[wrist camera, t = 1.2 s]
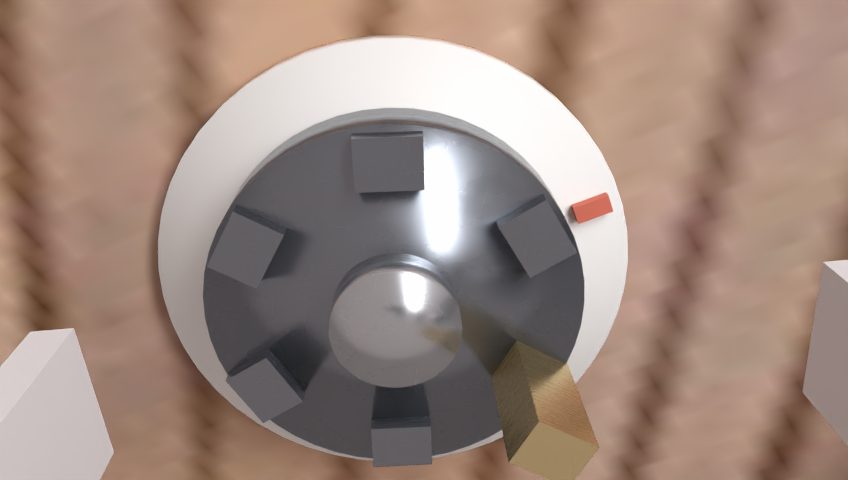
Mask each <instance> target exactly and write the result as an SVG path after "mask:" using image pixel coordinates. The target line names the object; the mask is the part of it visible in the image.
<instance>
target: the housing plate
mask: <svg viewBox="0 0 848 480" xmlns="http://www.w3.org/2000/svg"><path fill="white" fill-rule="evenodd" d="M378 108H414V109H420V110H427V111H433V112H439V113H442V114H445V115H449V116H452V117H455V118H459V119H462V120H464V121H467V122H469V123H471V124H473V125H476V126H478V127H480V128H482V129H485V130H486V131H488V132H489V133H491V134H493V135H494V136H496V137H498V138H499V139H501V140H502V141H504V142H506V143H507V144H508V145H509V146H510V147H512V148H513V149H514V150H515V151H516V152H518V153H519V154H520V155H521V156H522V157H524V158H525V160H526V161H527V162H528V163H529V164H530V165H531V166H532V167H533V168H534V169H535V171H536V172H537V173H538V174H539V175H540V177H541V178H542V180H543V181H544V183H545V184H546V185H547V187H548V188H549V190H550V191H551V193H552V195H553V197H554V198H555V200H556V202H557V204H558V206H559V208H560V209H561V211H562V213H563V215H564V217H565V219H566V221H567V223H568V225H569V227H570V229H571V231H572V233H573V235H574V238H575V241H576V244H577V247H578V250H579V254H580V257H581V261H582V268H583V275H584V309H583V316H582V323H581V327H580V330H579V333H578V337H577V340H576V343H575V346H574V348H573V350H572V353H571V355H570V357H569V359H568V361H567V363H566V364H568V366H569V369H570V371H571V374H572V377H573V379H574V382H575V383H576V382H577V381H578V380H579V379H580V377H581V376H582V375H583V373H584V372H585V371H586V370H587V368H588V367H589V366H590V364H591V363H592V362H593V361H594V359H595V357H596V356H597V354H598V352H599V350H600V349H601V347H602V345H603V344H604V342H605V340H606V339H607V337H608V334H609V332H610V330H611V327H612V325H613V322H614V320H615V318H616V315H617V313H618V309H619V306H620V302H621V298H622V294H623V291H624V287H625V279H626V271H627V263H628V246H627V228H626V223H625V217H624V211H623V205H622V202H621V199H620V196H619V193H618V190H617V187H616V184H615V181H614V177H613V175H612V173H611V172H610V170H609V168H608V166H607V164H606V162H605V160H604V158H603V156H602V154H601V152H600V150H599V149H598V147H597V146H596V144H595V143H594V141H593V140H592V139H591V137H590V136H589V134H588V133H587V131H586V130H585V129H584V127H583V126H582V125H581V123H580V122H579V121H578V120H577V119H576V118H575V117H574V116H573V114H572V113H571V112H570V111H569V110H568V109H567V108H566V107H565V106H564V105H563V104H562V103H561V102H560V101H559V100H558V99H557V97H556V96H555V95H553V94H552V93H551V92H550V91H548V90H547V89H546V88H544V87H543V86H542V85H541V84H539V83H538V82H537V81H536V80H534V79H533V78H532V77H531V76H529V75H527V74H526V73H524V72H522V71H521V70H519V69H517V68H515V67H514V66H512V65H510V64H509V63H507V62H505V61H504V60H501V59H499V58H497V57H494V56H492V55H489V54H487V53H485V52H482V51H480V50H477V49H475V48H473V47H469V46H465V45H461V44H458V43H454V42H450V41H446V40H442V39H436V38H428V37H420V36H412V35H372V36H365V37H358V38H351V39H344V40H339V41H335V42H332V43H328V44H325V45H321V46H318V47H315V48H311V49H308V50H306V51H303V52H301V53H299V54H297V55H294V56H292V57H290V58H288V59H285V60H283V61H281V62H279V63H277V64H275V65H274V66H272V67H270V68H269V69H267V70H266V71H264V72H262V73H261V74H259V75H258V76H256V77H254V78H253V79H251V80H250V81H249V82H248V83H246V84H245V85H244V86H243V87H242V88H240V89H239V90H238V91H237V92H236V93H234V94H233V95H232V96H231V97H230V98H228V99H227V100H226V101H225V103H224V104H223V105H222V106H221V107H220V108H219V109H218V110H217V111H216V113H215V114H214V115H213V116H212V117H211V118H210V119H209V120H208V122H207V123H206V124H205V125H204V126H203V127H202V128H201V130H200V131H199V132H198V134H197V135H196V137H195V138H194V140H193V141H192V143H191V144H190V146H189V147H188V149H187V150H186V152H185V153H184V155H183V156H182V158H181V161H180V163H179V165H178V167H177V169H176V171H175V174H174V176H173V178H172V180H171V182H170V185H169V188H168V192H167V195H166V199H165V202H164V206H163V209H162V213H161V220H160V228H159V236H158V269H159V275H160V281H161V287H162V293H163V298H164V301H165V304H166V307H167V310H168V313H169V316H170V319H171V322H172V324H173V326H174V329H175V331H176V333H177V335H178V337H179V339H180V341H181V343H182V345H183V347H184V349H185V350H186V352H187V353H188V355H189V356H190V358H191V359H192V361H193V362H194V364H195V365H196V367H197V368H198V370H199V371H200V372H201V373H202V374H203V375H204V377H205V378H206V379H207V380H208V381H209V382H210V384H211V385H212V386H213V387H214V388H215V389H216V390H217V391H218V392H219V393H220V394H221V395H222V396H223V397H224V398H225V399H227V400H228V401H229V402H230V403H231V404H232V405H233V406H234V407H235V408H237V409H238V410H240V411H241V412H242V413H244V414H245V415H247V416H248V417H249V418H251V419H252V420H254V421H255V422H256V423H258V424H260V425H261V426H263V427H265V428H267V429H269V430H270V431H272V432H274V433H276V434H278V435H280V436H281V437H284V438H286V439H289V440H291V441H293V442H296V443H298V444H301V445H303V446H305V447H308V448H312V449H315V450H319V451H322V452H325V453H329V454H332V455H337V456H343V457H348V458H354V459H360V460H373V458H364V457H356V456H352V455H347V454H343V453H338V452H334V451H331V450H328V449H325V448H322V447H319V446H316V445H314V444H312V443H309V442H307V441H305V440H303V439H301V438H299V437H296V436H294V435H293V434H291V433H289V432H288V431H286V430H284V429H283V428H281V427H279V426H278V425H276V424H275V423H273V422H272V421H271V420H268V421H267V422H265V423H262V421H261V420H260V419H259V418H258V417H257V416H256V415H255V414H254V412H253V411H252V410H251V409H250V408H249V407H248V406H247V405H246V403H245V402H244V401H243V400H242V399H241V398H240V397H239V396H238V394H237V393H236V392H235V391H234V390H233V389H232V388H231V387H230V385H229V384H228V383H227V382H226V378H227V373H226V371H225V370H224V368H223V366H222V364H221V363H220V361H219V359H218V357H217V354H216V352H215V350H214V347H213V345H212V342H211V340H210V336H209V332H208V328H207V324H206V320H205V313H204V303H203V284H204V272H205V267H206V262H207V258H208V253H209V249H210V247H211V244H212V242H213V239H214V236H215V234H216V231H217V229H218V227H219V225H220V223H221V221H222V220H223V218H224V216H225V214H226V212H227V211H228V209H229V207H230V205H231V203H232V202H233V200H234V198H235V196H236V194H237V193H238V191H239V189H240V187H241V186H242V184H243V183H244V182H245V180H246V179H247V178H248V176H249V175H250V174H251V173H252V171H253V170H254V169H255V167H256V166H257V165H258V164H259V163H260V162H261V161H262V160H263V159H265V158H266V157H267V156H268V155H269V154H270V153H271V152H272V151H273V150H274V149H276V148H277V147H278V146H280V145H281V144H282V143H284V142H285V141H287V140H288V139H289V138H291V137H292V136H294V135H296V134H298V133H299V132H301V131H303V130H305V129H307V128H309V127H311V126H312V125H314V124H317V123H320V122H322V121H325V120H328V119H330V118H333V117H336V116H339V115H343V114H347V113H352V112H356V111H360V110H368V109H378ZM501 437H503V432H502V430H501V431H499V432H497V433H495V434H494V435H492V436H490V437H488V438H486V439H484V440H482V441H479V442H477V443H475V444H472V445H470V446H468V447H464V448H461V449H458V450H455V451H452V452H449V453H444V454H439V455H435V456H432V458H438V457H443V456H447V455H452V454H456V453H460V452H464V451H468V450H470V449H473V448H476V447H479V446H482V445H485V444H487V443H490V442H493V441H495V440H497V439H499V438H501Z"/></svg>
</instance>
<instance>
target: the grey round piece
mask: <svg viewBox="0 0 848 480" xmlns="http://www.w3.org/2000/svg"><path fill="white" fill-rule="evenodd" d="M203 303H204V313H205V320H206V324H207V328H208V332H209V336H210V340H211V342H212V345H213V347H214V350H215V352H216V354H217V357H218V359H219V361H220V363H221V364H222V366H223V368H224V370H225V371H226V373H227V378H226V382H227V383H228V384H229V385H230V387H231V388H232V389H233V390H234V391H235V392H236V393H237V394H238V396H239V397H240V398H241V399H242V400H243V401H244V402H245V403H246V405H247V406H248V407H249V408H250V409H251V410H252V411H253V412H254V414H255V415H256V416H257V417H258V418H259V419H260V420H261V421H262V423H265V422H267V421H268V420H271V421H272V422H273V423H275V424H276V425H278V426H279V427H281V428H283V429H284V430H286V431H288V432H289V433H291V434H293V435H294V436H296V437H299V438H301V439H303V440H305V441H307V442H309V443H312V444H314V445H316V446H319V447H322V448H325V449H328V450H331V451H334V452H338V453H343V454H347V455H352V456H356V457H364V458H373V466H374V467H382V466H405V465H427V464H432V456H435V455H439V454H444V453H449V452H452V451H455V450H458V449H461V448H464V447H468V446H470V445H472V444H475V443H477V442H479V441H482V440H484V439H486V438H488V437H490V436H492V435H494V434H495V433H497V432H499V431H501V430H502V432H503V437H504V442H505V446H506V451H507V456H508V461H509V463H511V464H513V465H516V466H518V467H521V468H523V469H525V470H528V471H530V472H533V473H535V474H537V475H540V476H542V477H545V478H547V479H549V480H574V479H575V478H576V477H577V475H578V474H579V473H580V472H581V470H582V469H583V468H584V467H585V465H586V464H587V463H588V461H589V460H590V459H591V458H592V456H593V455H594V454H595V453H596V451H597V450H598V449H599V446H598V443H597V440H596V438H595V435H594V432H593V430H592V427H591V424H590V422H589V419H588V416H587V414H586V411H585V408H584V406H583V403H582V400H581V398H580V395H579V392H578V390H577V387H576V384H575V382H574V379H573V377H572V374H571V371H570V369H569V366H568V364H566V363H567V361H568V359H569V357H570V355H571V353H572V350H573V348H574V346H575V343H576V340H577V337H578V333H579V330H580V327H581V323H582V316H583V309H584V275H583V268H582V261H581V257H580V254H579V250H578V247H577V244H576V241H575V238H574V235H573V233H572V231H571V229H570V227H569V225H568V223H567V221H566V219H565V217H564V215H563V213H562V211H561V209H560V208H559V206H558V204H557V202H556V200H555V198H554V197H553V195H552V193H551V191H550V190H549V188H548V187H547V185H546V184H545V183H544V181H543V180H542V178H541V177H540V175H539V174H538V173H537V172H536V171H535V169H534V168H533V167H532V166H531V165H530V164H529V163H528V162H527V161H526V160H525V158H524V157H522V156H521V155H520V154H519V153H518V152H516V151H515V150H514V149H513V148H512V147H510V146H509V145H508V144H507V143H506V142H504V141H502V140H501V139H499V138H498V137H496V136H494V135H493V134H491V133H489V132H488V131H486V130H485V129H482V128H480V127H478V126H476V125H473V124H471V123H469V122H467V121H464V120H462V119H459V118H455V117H452V116H449V115H445V114H442V113H439V112H433V111H427V110H420V109H414V108H378V109H368V110H360V111H356V112H352V113H347V114H343V115H339V116H336V117H333V118H330V119H328V120H325V121H322V122H320V123H317V124H314V125H312V126H311V127H309V128H307V129H305V130H303V131H301V132H299V133H298V134H296V135H294V136H292V137H291V138H289V139H288V140H287V141H285V142H284V143H282V144H281V145H280V146H278V147H277V148H276V149H274V150H273V151H272V152H271V153H270V154H269V155H268V156H267V157H266V158H265V159H263V160H262V161H261V162H260V163H259V164H258V165H257V166H256V167H255V169H254V170H253V171H252V173H251V174H250V175H249V176H248V178H247V179H246V180H245V182H244V183H243V184H242V186H241V187H240V189H239V191H238V193H237V194H236V196H235V198H234V200H233V202H232V203H231V205H230V207H229V209H228V211H227V212H226V214H225V216H224V218H223V220H222V221H221V223H220V225H219V227H218V229H217V231H216V234H215V236H214V239H213V242H212V244H211V247H210V249H209V253H208V258H207V262H206V267H205V272H204V284H203Z"/></svg>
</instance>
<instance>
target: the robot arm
mask: <svg viewBox="0 0 848 480" xmlns="http://www.w3.org/2000/svg"><path fill="white" fill-rule="evenodd" d="M803 393H804V394H805V396H806V397H807V398H808V399H809V400H810V402H811V403H812V404H813V405H814V406H815V408H816V409H817V410H818V411H819V412H820V414H821V415H822V416H823V417H824V418H825V420H826V421H827V422H828V423H829V424H830V426H831V427H832V428H833V429H834V430H835V432H836V433H837V434H838V435H839V436H840V438H841V439H842V440H843V441H844V442H845V444H846V445H847V446H848V260H841V261H830V262H823V267H822V273H821V279H820V285H819V292H818V298H817V304H816V310H815V317H814V323H813V329H812V336H811V342H810V348H809V354H808V361H807V367H806V373H805V380H804V386H803ZM113 453H114V451H113V448H112V445H111V442H110V438H109V435H108V432H107V429H106V426H105V423H104V420H103V417H102V414H101V411H100V408H99V404H98V401H97V398H96V395H95V392H94V389H93V386H92V383H91V380H90V377H89V374H88V371H87V367H86V364H85V361H84V358H83V355H82V352H81V349H80V346H79V343H78V340H77V337H76V333H75V330H74V328H69V329H58V330H47V331H35V332H30V333H29V334H28V335H27V336H26V337H25V339H24V340H23V341H22V342H21V343H20V344H19V345H18V347H17V348H16V349H15V350H14V351H13V352H12V354H11V355H10V356H9V357H8V358H7V359H6V361H5V362H4V363H3V364H2V365H1V366H0V480H100V479H101V477H102V475H103V473H104V471H105V469H106V467H107V465H108V463H109V461H110V459H111V457H112V455H113Z"/></svg>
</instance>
